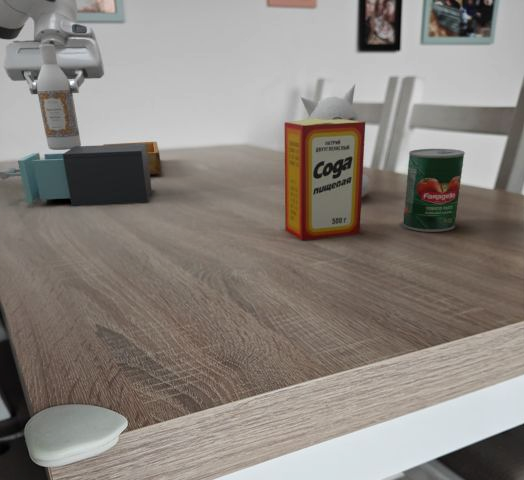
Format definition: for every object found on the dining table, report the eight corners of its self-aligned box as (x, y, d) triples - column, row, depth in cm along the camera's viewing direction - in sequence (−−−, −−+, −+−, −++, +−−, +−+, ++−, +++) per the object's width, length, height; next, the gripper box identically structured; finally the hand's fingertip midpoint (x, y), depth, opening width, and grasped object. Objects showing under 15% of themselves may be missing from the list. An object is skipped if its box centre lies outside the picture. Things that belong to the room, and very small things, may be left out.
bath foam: (44, 150, 119) (23, 44, 110) (53, 146, 125) (34, 46, 116) (76, 149, 119) (58, 43, 110) (84, 145, 125) (68, 45, 116)
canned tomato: (429, 235, 82) (438, 156, 77) (392, 224, 88) (397, 151, 83) (466, 226, 85) (476, 151, 80) (427, 217, 91) (434, 147, 86)
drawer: (1, 203, 106) (-9, 161, 103) (17, 192, 117) (9, 153, 113) (97, 199, 108) (90, 157, 105) (105, 188, 118) (99, 150, 115)
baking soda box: (339, 223, 89) (343, 116, 82) (359, 233, 83) (365, 118, 76) (285, 230, 86) (284, 119, 79) (302, 240, 81) (302, 122, 74)
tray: (106, 163, 161) (103, 142, 158) (158, 160, 163) (156, 139, 161) (98, 180, 134) (95, 155, 131) (162, 176, 136) (159, 152, 134)
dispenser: (71, 205, 107) (62, 153, 103) (83, 193, 119) (75, 146, 114) (147, 202, 109) (141, 150, 104) (151, 190, 120) (146, 143, 116)
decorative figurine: (303, 208, 100) (304, 86, 91) (284, 193, 113) (283, 85, 104) (380, 202, 103) (388, 83, 94) (353, 188, 115) (358, 82, 107)
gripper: (0, 29, 116) (-3, 81, 112) (99, 27, 118) (99, 78, 114) (11, 54, 122) (9, 104, 118) (105, 51, 124) (106, 100, 120)
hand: (54, 91), depth 116 cm, fingers closed on bath foam, 7 cm apart
